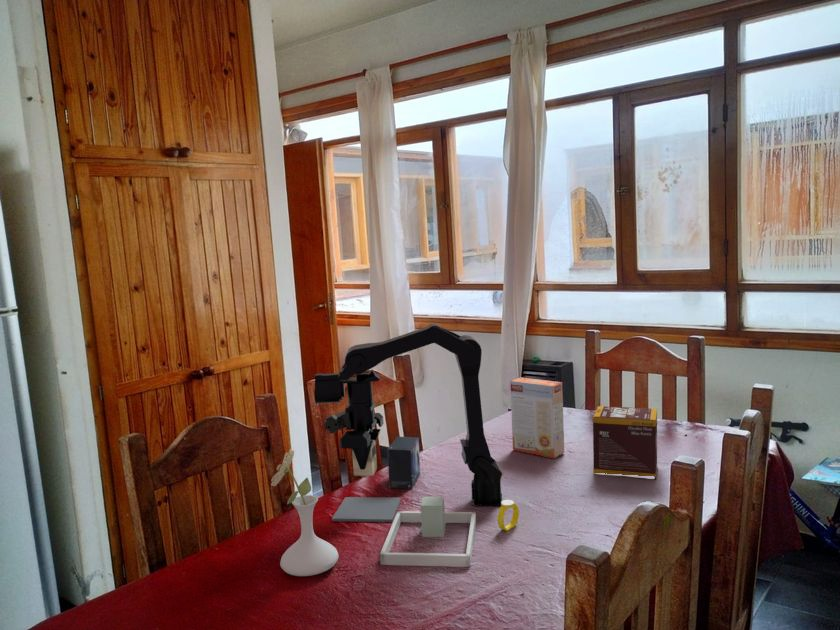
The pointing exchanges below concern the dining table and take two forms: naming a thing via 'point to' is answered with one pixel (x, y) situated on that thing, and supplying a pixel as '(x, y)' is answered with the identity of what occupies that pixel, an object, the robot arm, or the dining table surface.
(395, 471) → the small box
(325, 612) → the dining table surface
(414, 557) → the white square frame
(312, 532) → the flower in vase
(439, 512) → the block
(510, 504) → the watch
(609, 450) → the supplement box
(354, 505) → the mat
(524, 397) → the cracker box
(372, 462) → the labelled block
